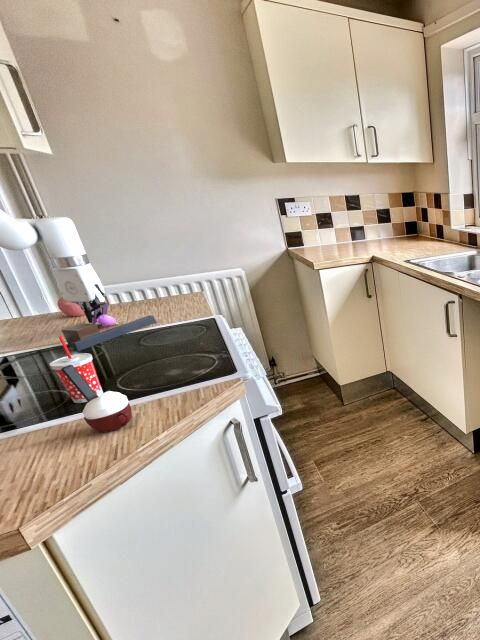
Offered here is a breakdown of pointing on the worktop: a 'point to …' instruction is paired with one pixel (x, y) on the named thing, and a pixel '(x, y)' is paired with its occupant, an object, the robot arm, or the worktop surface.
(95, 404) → the cocoa
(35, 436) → the worktop surface
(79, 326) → the walnut block
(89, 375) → the beverage cup
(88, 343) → the rail
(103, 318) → the purple looped trinket
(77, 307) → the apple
